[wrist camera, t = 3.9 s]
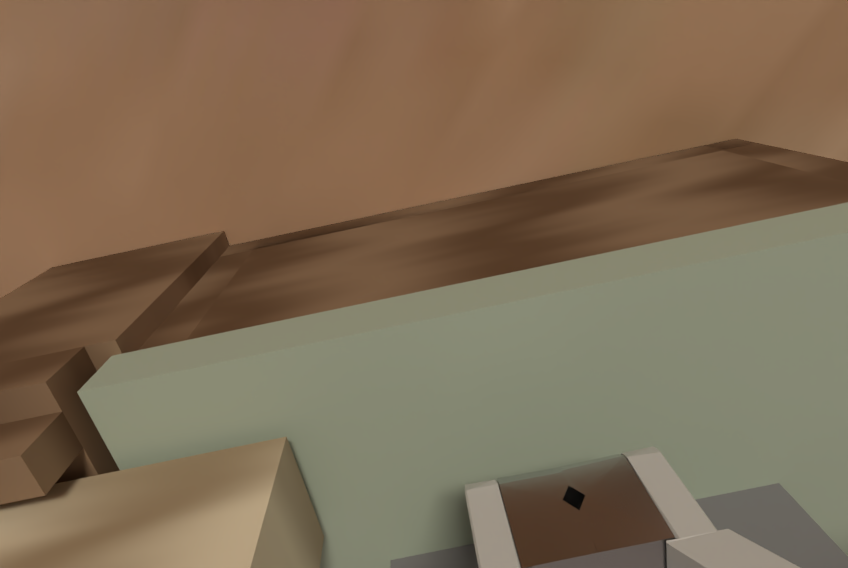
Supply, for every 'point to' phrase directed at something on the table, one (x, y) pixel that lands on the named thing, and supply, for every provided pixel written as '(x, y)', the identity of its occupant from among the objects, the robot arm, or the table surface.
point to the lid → (535, 391)
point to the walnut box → (350, 276)
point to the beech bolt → (172, 516)
